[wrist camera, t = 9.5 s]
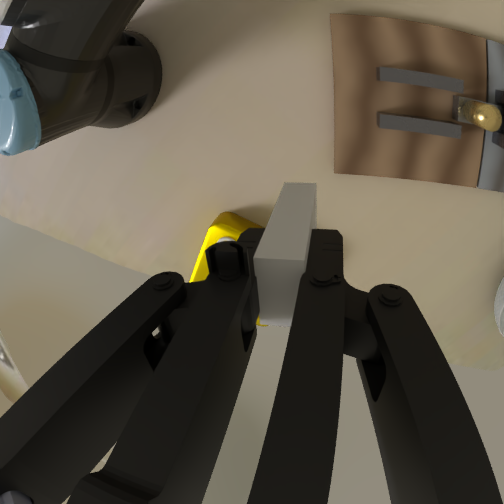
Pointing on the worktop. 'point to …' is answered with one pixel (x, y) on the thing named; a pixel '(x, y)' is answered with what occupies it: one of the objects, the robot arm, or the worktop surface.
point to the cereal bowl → (500, 307)
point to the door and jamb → (412, 101)
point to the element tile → (220, 230)
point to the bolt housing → (424, 123)
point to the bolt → (478, 113)
